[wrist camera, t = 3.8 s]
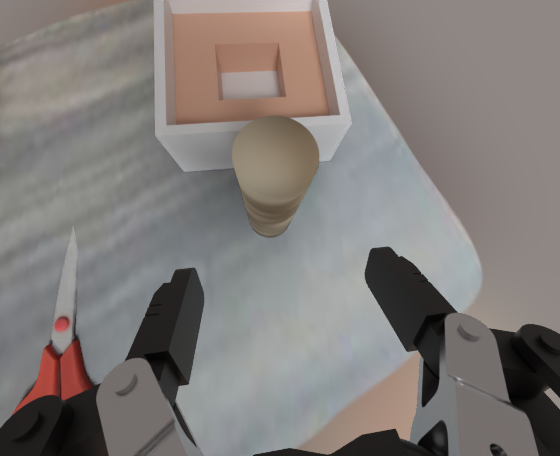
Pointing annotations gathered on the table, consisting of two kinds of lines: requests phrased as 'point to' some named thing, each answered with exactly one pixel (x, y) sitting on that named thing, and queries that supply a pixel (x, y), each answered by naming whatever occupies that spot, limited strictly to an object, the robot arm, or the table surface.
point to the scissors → (62, 341)
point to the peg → (274, 170)
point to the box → (243, 75)
